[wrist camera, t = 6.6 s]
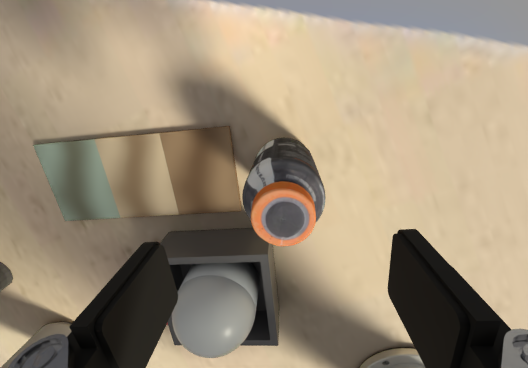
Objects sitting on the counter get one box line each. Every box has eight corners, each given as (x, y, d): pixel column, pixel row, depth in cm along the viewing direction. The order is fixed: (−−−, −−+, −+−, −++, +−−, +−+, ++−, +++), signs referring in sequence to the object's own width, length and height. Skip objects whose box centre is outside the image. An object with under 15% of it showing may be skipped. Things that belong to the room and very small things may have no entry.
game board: (229, 126, 24) (228, 126, 24) (241, 208, 27) (240, 211, 27) (38, 144, 27) (33, 145, 26) (69, 218, 30) (65, 220, 29)
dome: (255, 248, 28) (243, 310, 20) (263, 305, 30) (255, 380, 23) (183, 250, 29) (144, 311, 21) (197, 306, 31) (168, 378, 24)
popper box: (270, 227, 28) (267, 254, 23) (279, 308, 32) (278, 345, 27) (133, 233, 30) (105, 260, 25) (158, 310, 34) (138, 345, 29)
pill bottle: (245, 149, 25) (217, 192, 15) (301, 127, 24) (315, 156, 13) (267, 200, 27) (256, 271, 16) (321, 182, 26) (346, 245, 15)
